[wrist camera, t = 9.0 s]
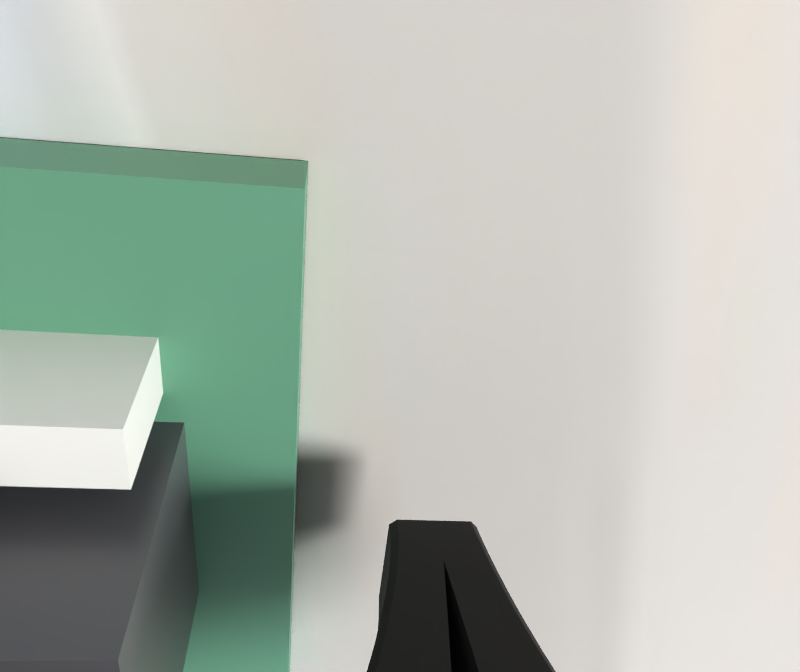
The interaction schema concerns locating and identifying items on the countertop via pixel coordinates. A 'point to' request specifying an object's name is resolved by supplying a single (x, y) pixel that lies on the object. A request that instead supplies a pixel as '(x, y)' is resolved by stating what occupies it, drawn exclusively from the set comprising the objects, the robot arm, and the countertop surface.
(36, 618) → the plug
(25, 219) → the board
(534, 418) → the countertop surface
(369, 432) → the countertop surface
